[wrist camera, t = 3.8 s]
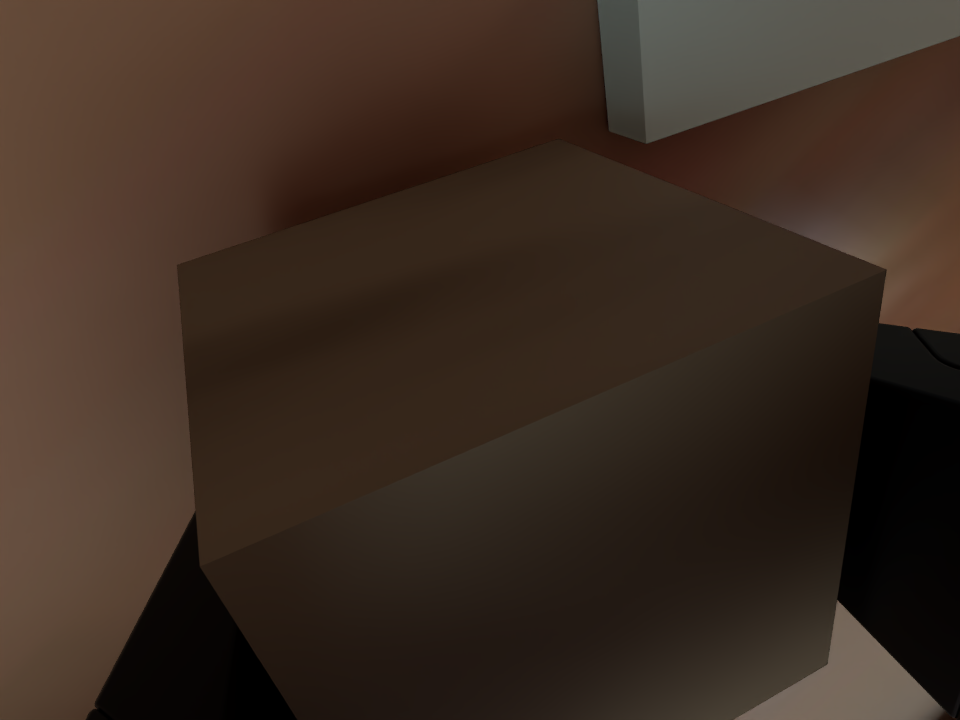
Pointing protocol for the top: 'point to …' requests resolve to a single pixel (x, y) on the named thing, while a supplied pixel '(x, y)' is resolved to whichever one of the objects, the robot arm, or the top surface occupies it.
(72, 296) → the top surface
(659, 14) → the board
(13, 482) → the top surface
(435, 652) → the walnut cube
